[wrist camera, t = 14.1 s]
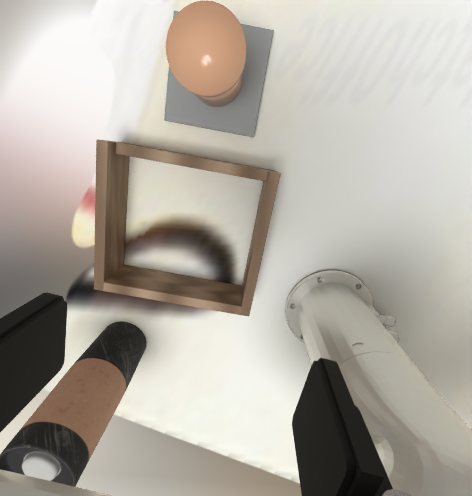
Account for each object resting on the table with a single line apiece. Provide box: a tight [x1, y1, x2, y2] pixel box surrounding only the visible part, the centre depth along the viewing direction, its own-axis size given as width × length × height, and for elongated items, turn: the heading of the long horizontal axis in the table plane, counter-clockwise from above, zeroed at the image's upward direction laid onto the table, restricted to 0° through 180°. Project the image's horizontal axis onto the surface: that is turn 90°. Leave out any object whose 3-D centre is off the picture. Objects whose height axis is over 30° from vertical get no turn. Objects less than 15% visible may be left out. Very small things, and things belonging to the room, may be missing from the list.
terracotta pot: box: [166, 1, 246, 107], centre depth 28 cm, size 7×7×9 cm
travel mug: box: [0, 322, 146, 487], centre depth 35 cm, size 8×8×20 cm
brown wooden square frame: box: [94, 140, 280, 316], centre depth 36 cm, size 20×18×6 cm
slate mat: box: [164, 11, 273, 137], centre depth 32 cm, size 11×11×1 cm
